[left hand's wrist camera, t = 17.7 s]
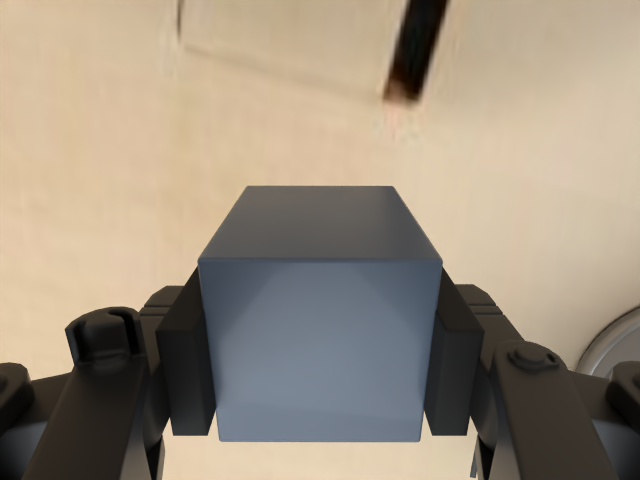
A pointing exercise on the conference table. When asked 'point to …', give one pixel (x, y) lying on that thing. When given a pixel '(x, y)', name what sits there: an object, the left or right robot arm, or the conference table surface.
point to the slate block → (319, 315)
